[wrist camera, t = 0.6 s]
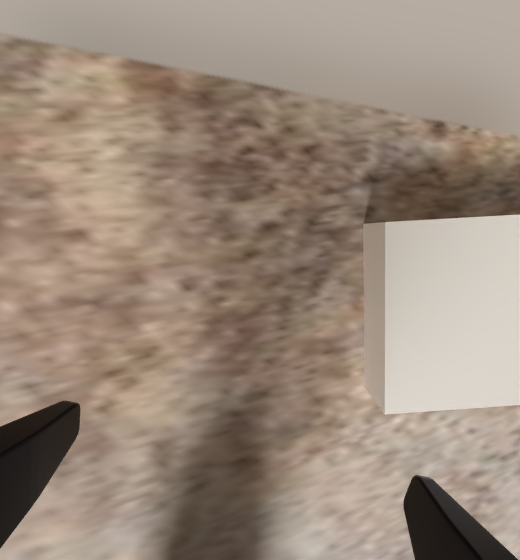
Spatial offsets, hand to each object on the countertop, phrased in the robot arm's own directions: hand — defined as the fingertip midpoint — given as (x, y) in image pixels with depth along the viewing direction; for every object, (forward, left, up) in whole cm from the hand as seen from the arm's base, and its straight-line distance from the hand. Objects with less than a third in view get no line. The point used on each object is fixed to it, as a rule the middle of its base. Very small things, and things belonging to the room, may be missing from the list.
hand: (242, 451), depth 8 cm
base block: (0, -14, -15) cm, 20 cm away
